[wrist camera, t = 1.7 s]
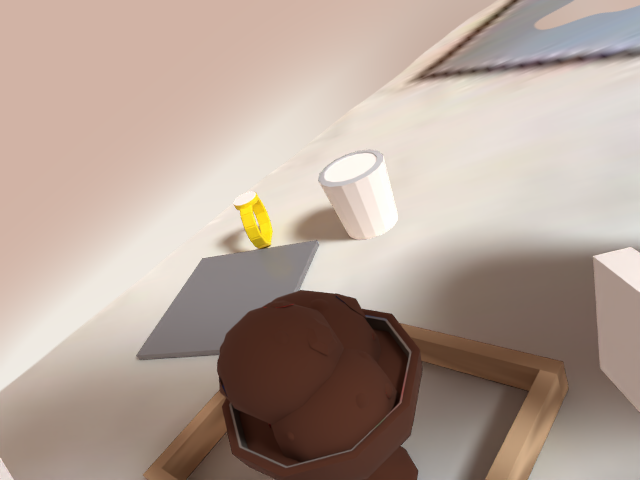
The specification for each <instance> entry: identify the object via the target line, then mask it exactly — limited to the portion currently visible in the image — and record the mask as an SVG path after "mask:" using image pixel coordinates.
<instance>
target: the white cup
mask: <svg viewBox="0 0 640 480" xmlns="http://www.w3.org/2000/svg"><path fill="white" fill-rule="evenodd" d="M318 181H319V183H320V184H321V186H322V188H323V190H324V192H325V194H326V195H327V197H328V199H329V201H330V203H331V204H332V206H333V208H334V210H335V212H336V213H337V215H338V217H339V219H340V221H341V222H342V224H343V226H344V228H345V230H346V232H347V233H348V235H349V236H350V237H351V238H354V239H357V240H366V239H370V238H374V237H377V236H379V235H381V234H383V233H386V232H387V231H388V230H389V229H391V228H392V227H393V226H394V225H395V223H396V222H397V220H398V213H397V209H396V205H395V201H394V197H393V193H392V189H391V185H390V181H389V177H388V173H387V169H386V164H385V160H384V156H383V154H382V153H380V152H379V151H376V150H362V151H357V152H353V153H350V154H347V155H345V156H342V157H340V158H338V159H336V160H334V161H333V162H332V163H330V164H329V165H327V166H326V167H325V168H324V169H323V170H322V172H321V173H320V174H319V179H318Z"/></svg>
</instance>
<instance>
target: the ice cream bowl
mask: <svg viewBox="0 0 640 480" xmlns="http://www.w3.org/2000/svg"><path fill="white" fill-rule="evenodd" d="M217 372H218V375H219V383H220V393H221V394H222V395H223V396H224V397H226V399H225V401H224V403H223V405H222V410H223V415H224V419H225V424H226V428H227V433H228V437H229V442H230V446H231V451H232V454H233V455H235V456H236V457H237V458H238V459H240V460H241V461H242V462H244V463H245V464H246V465H248V466H249V467H251V468H253V469H255V470H257V471H259V472H261V473H263V474H266V475H268V476H270V477H272V478H274V479H276V480H417V475H418V470H417V468H416V466H415V465H414V463H413V461H412V460H411V458H410V456H409V455H408V453H407V451H406V450H405V449H404V448H403V447H401V445H402V444H403V443H404V442H405V440H406V439H407V438H408V437H409V436H410V435H411V430H412V426H413V421H414V415H415V409H416V404H417V398H418V392H419V386H420V381H421V375H422V362H421V354H420V349H419V347H418V346H417V345H416V344H415V342H414V341H413V340H412V339H411V337H410V336H409V335H408V334H407V332H406V331H405V330H404V328H403V327H402V326H401V325H400V323H399V322H398V321H397V320H396V318H395V317H394V316H393V315H392V314H390V313H384V312H378V311H372V310H366V309H361V307H360V305H359V304H358V302H357V300H356V299H355V298H351V297H347V296H343V295H340V294H336V293H335V294H332V293H323V292H314V291H304V290H300V291H297V292H293V293H290V294H287V295H284V296H281V297H278V298H276V299H274V300H273V301H272V302H270V303H268V304H266V305H265V306H263V307H261V308H258V309H254V310H251V311H249V312H248V313H247V314H246V315H245V316H244V317H243V318H242V319H241V320H240V321H239V322H238V323H237V324H235V325H234V326H233V327H232V328H231V329H230V330H229V331H228V332H227V333H226V336H225V339H224V342H223V343H222V345H221V347H220V355H219V359H218V362H217Z"/></svg>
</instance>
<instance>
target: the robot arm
mask: <svg viewBox="0 0 640 480" xmlns="http://www.w3.org/2000/svg"><path fill="white" fill-rule="evenodd" d="M593 266H594V281H595V297H596V313H597V329H598V345H599V361H600V369H601V370H602V371H603V372H604V373H605V374H606V376H607V377H608V378H609V379H610V380H611V381H612V382H613V383H614V384H615V386H616V387H617V388H618V389H619V390H620V391H621V392H622V393H623V394H624V396H625V397H626V398H627V399H628V400H629V401H630V402H631V403H632V404H633V406H634V407H635V408H636V409H637V410H638V411H639V412H640V252H638V251H636V250H635V249H633V248H632V247H628V248H624V249H620V250H616V251H612V252H608V253H603V254H599V255H595V256H593ZM0 480H14V479H13V478H12V476H11V474H10V473H9V471H8V469H7V468H6V466H5V464H4V463H3V461H2V459H1V458H0Z"/></svg>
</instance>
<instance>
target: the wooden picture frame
mask: <svg viewBox="0 0 640 480" xmlns="http://www.w3.org/2000/svg"><path fill="white" fill-rule="evenodd" d="M400 325H401V326H402V327H403V328H404V330H405V331H406V332H407V334H408V335H409V336H410V337H411V339H412V340H413V341H414V342H415V344H416V345H417V346H418V347H419V349H420V354H421V361H424V362H428V363H431V364H435V365H438V366H442V367H445V368H449V369H452V370H456V371H460V372H463V373H467V374H470V375H474V376H477V377H481V378H484V379H488V380H491V381H495V382H499V383H502V384H506V385H509V386H513V387H516V388H520V389H523V390H527V391H529V393H528V395H527V397H526V399H525V401H524V403H523V405H522V407H521V409H520V411H519V413H518V415H517V417H516V419H515V421H514V423H513V425H512V427H511V429H510V431H509V433H508V435H507V437H506V439H505V441H504V443H503V445H502V447H501V449H500V451H499V453H498V455H497V457H496V459H495V461H494V463H493V464H492V466H491V468H490V470H489V472H488V474H487V476H486V478H485V480H528V477H529V475H530V473H531V471H532V469H533V466H534V464H535V462H536V460H537V457H538V455H539V453H540V451H541V449H542V446H543V444H544V442H545V440H546V438H547V435H548V433H549V431H550V429H551V426H552V424H553V422H554V420H555V418H556V415H557V413H558V411H559V409H560V407H561V404H562V402H563V400H564V398H565V396H566V393H567V391H568V389H569V387H568V382H567V378H566V373H565V368H564V364H563V361H558V360H554V359H550V358H546V357H541V356H537V355H533V354H529V353H524V352H520V351H516V350H512V349H507V348H503V347H499V346H495V345H491V344H486V343H482V342H478V341H474V340H469V339H465V338H461V337H457V336H452V335H448V334H444V333H440V332H435V331H431V330H427V329H423V328H418V327H414V326H410V325H406V324H401V323H400ZM225 399H226V397H224V396H223V395H222V394H221V393H220V390H219V391H218V392H217V393H216V394H215V395H214V396H213V398H212V399H211V400H210V401H209V402H208V403H207V404H206V405H205V406H204V408H203V409H202V410H201V411H200V412H199V413H198V414H197V415H196V416H195V418H194V419H193V420H192V421H191V422H190V423H189V424H188V425H187V426H186V428H185V429H184V430H183V431H182V432H181V433H180V434H179V435H178V436H177V437H176V439H175V440H174V441H173V442H172V443H171V444H170V445H169V446H168V447H167V449H166V450H165V451H164V452H163V453H162V454H161V455H160V456H159V457H158V459H157V460H156V461H155V462H154V463H153V464H152V465H151V466H150V467H149V469H148V470H147V471H146V472H145V473H144V474H143V476H144V477H145V478H146V479H147V480H186V479H187V478H188V476H189V475H190V474H191V473H192V472H193V470H194V469H195V468H196V467H197V466H198V465H199V463H200V462H201V461H202V460H203V459H204V458H205V456H206V455H207V454H208V453H209V452H210V450H211V449H212V448H213V447H214V446H215V445H216V443H217V442H218V441H219V440H220V439H221V437H222V436H223V435H224V434H225V433H226V432H227V428H226V424H225V419H224V415H223V410H222V405H223V403H224V401H225Z"/></svg>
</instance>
